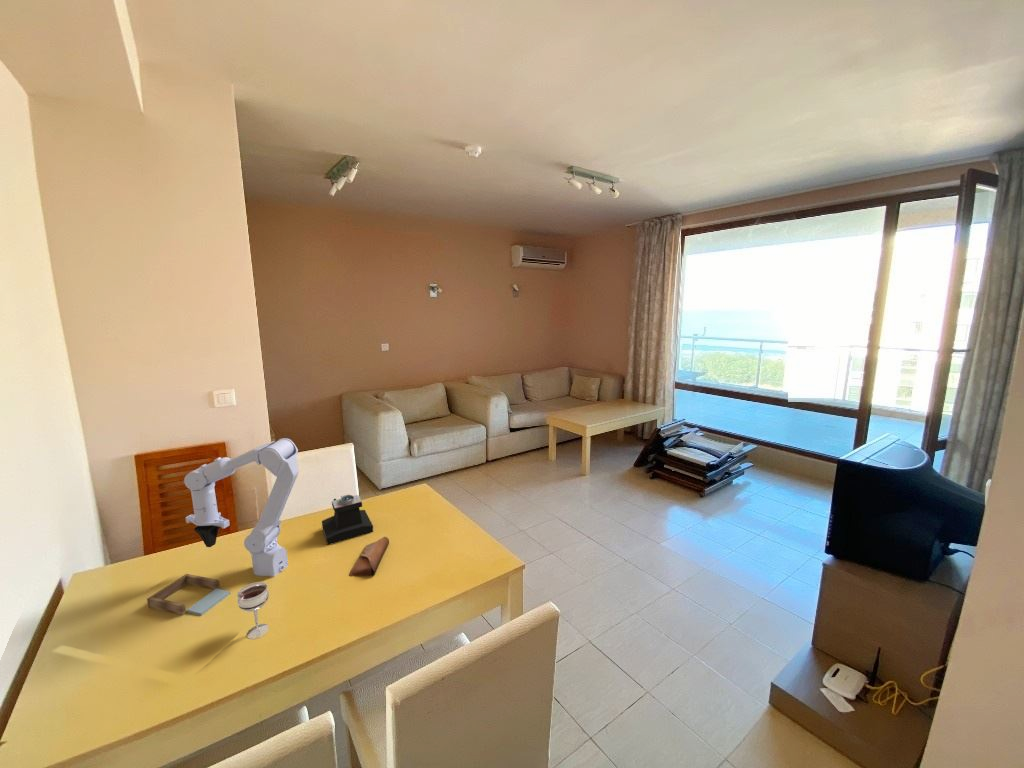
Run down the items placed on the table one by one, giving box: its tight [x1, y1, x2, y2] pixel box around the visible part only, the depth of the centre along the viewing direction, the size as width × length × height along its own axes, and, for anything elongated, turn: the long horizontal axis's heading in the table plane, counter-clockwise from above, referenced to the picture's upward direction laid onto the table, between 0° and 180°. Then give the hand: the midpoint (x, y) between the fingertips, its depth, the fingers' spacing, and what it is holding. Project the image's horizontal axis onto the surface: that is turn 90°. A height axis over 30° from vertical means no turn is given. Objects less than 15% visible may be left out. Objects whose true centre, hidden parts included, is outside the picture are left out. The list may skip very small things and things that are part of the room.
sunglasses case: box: [349, 536, 390, 577], centre depth 137 cm, size 18×7×7 cm
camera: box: [321, 494, 374, 546], centre depth 154 cm, size 16×14×15 cm
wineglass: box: [236, 581, 270, 640], centre depth 105 cm, size 7×7×12 cm
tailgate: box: [186, 588, 232, 616], centre depth 115 cm, size 1×9×5 cm
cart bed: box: [146, 573, 221, 616], centre depth 117 cm, size 12×11×4 cm
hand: (211, 545), depth 128 cm, fingers closed
